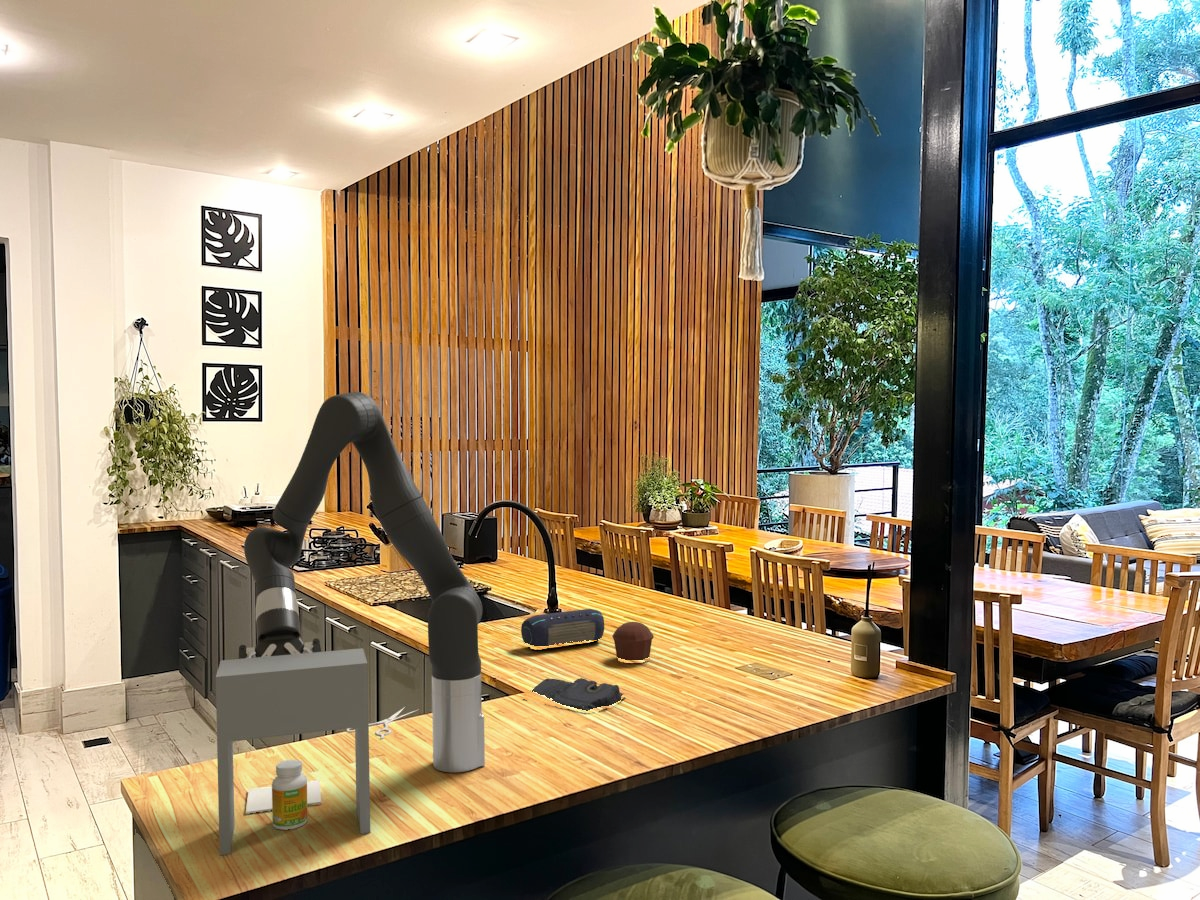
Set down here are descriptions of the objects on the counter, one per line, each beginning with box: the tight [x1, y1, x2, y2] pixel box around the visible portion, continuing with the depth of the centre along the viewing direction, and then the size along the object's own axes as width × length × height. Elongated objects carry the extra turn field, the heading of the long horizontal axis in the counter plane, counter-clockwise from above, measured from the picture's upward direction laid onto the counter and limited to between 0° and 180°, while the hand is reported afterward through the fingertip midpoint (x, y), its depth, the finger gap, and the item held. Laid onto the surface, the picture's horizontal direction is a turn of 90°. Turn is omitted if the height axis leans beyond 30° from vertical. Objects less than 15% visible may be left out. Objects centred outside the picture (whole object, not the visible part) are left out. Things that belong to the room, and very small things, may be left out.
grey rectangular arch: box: [215, 647, 371, 856], centre depth 144 cm, size 22×11×27 cm, turn 109°
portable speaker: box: [520, 608, 605, 646], centre depth 261 cm, size 25×10×10 cm, turn 119°
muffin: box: [611, 621, 655, 660], centre depth 245 cm, size 12×11×10 cm
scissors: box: [346, 706, 418, 740], centre depth 196 cm, size 11×1×20 cm
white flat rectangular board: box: [245, 779, 322, 815], centre depth 156 cm, size 12×10×1 cm
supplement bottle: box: [271, 759, 309, 831], centre depth 146 cm, size 5×5×10 cm
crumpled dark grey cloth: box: [531, 677, 624, 711], centre depth 211 cm, size 15×22×5 cm
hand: (282, 696), depth 157 cm, fingers open, 8 cm apart
